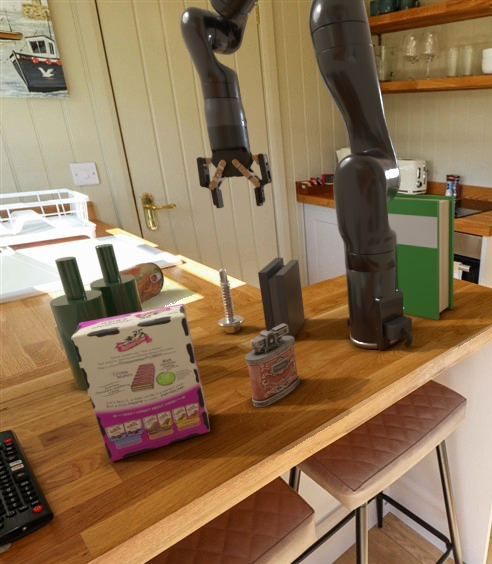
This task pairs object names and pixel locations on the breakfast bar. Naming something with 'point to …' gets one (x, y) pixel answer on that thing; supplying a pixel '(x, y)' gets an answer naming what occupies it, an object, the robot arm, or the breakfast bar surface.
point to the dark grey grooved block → (282, 295)
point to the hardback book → (424, 251)
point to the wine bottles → (91, 301)
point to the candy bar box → (142, 379)
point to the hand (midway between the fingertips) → (240, 206)
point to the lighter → (272, 366)
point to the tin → (146, 279)
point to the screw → (228, 306)
